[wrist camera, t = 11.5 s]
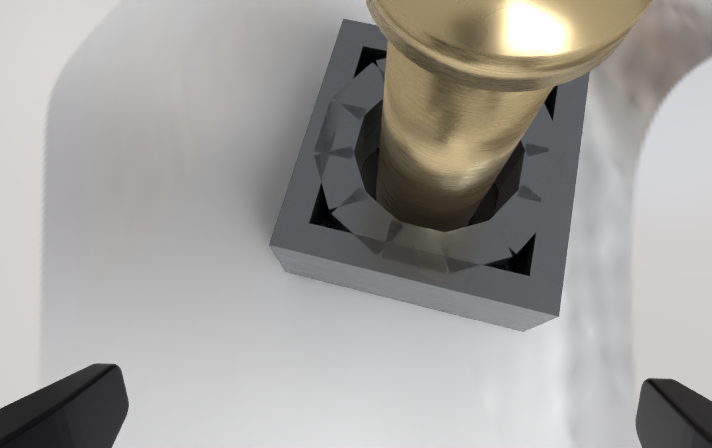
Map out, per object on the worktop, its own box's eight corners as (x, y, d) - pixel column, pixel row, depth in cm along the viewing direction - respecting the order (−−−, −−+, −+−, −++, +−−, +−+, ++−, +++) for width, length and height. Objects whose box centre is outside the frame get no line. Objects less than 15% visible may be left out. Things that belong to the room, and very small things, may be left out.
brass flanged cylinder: (480, 271, 19) (659, 85, 8) (346, 239, 19) (327, 18, 8) (501, 151, 21) (675, -151, 9) (377, 124, 21) (398, -195, 10)
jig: (523, 331, 18) (558, 316, 15) (285, 272, 19) (269, 245, 16) (554, 119, 21) (590, 67, 18) (346, 76, 22) (343, 18, 19)
